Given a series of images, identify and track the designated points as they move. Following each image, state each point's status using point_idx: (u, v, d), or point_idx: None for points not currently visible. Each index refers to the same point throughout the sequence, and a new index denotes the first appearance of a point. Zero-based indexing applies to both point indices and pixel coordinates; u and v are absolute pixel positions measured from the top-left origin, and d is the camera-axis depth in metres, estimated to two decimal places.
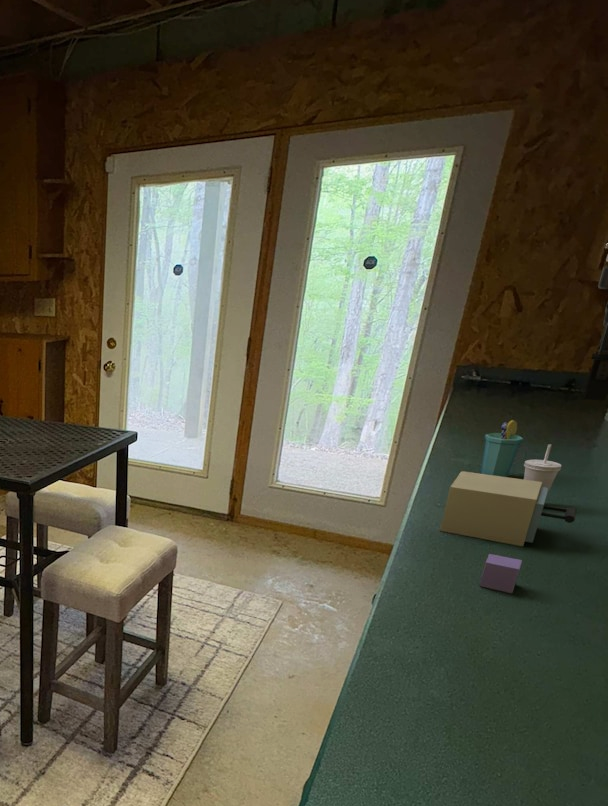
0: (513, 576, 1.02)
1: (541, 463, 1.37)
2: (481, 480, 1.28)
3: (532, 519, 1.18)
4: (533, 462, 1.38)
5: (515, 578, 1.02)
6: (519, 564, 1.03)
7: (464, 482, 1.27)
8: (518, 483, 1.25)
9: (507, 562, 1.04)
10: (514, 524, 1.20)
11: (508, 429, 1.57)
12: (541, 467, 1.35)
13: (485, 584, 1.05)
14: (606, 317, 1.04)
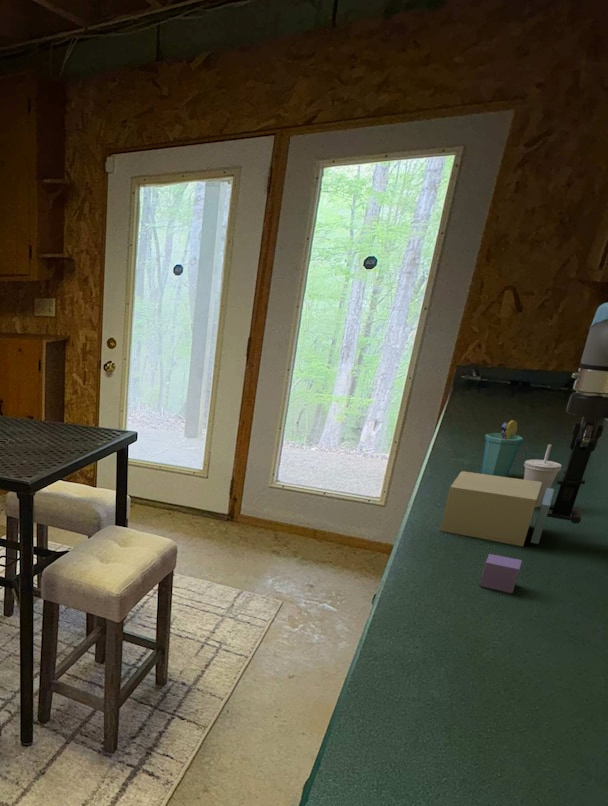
0: (513, 576, 1.02)
1: (541, 463, 1.37)
2: (481, 480, 1.28)
3: (538, 520, 1.18)
4: (533, 462, 1.38)
5: (515, 578, 1.02)
6: (519, 564, 1.03)
7: (464, 482, 1.27)
8: (518, 483, 1.25)
9: (507, 562, 1.04)
10: (514, 524, 1.20)
11: (508, 429, 1.57)
12: (541, 467, 1.35)
13: (485, 584, 1.05)
14: (571, 445, 1.15)
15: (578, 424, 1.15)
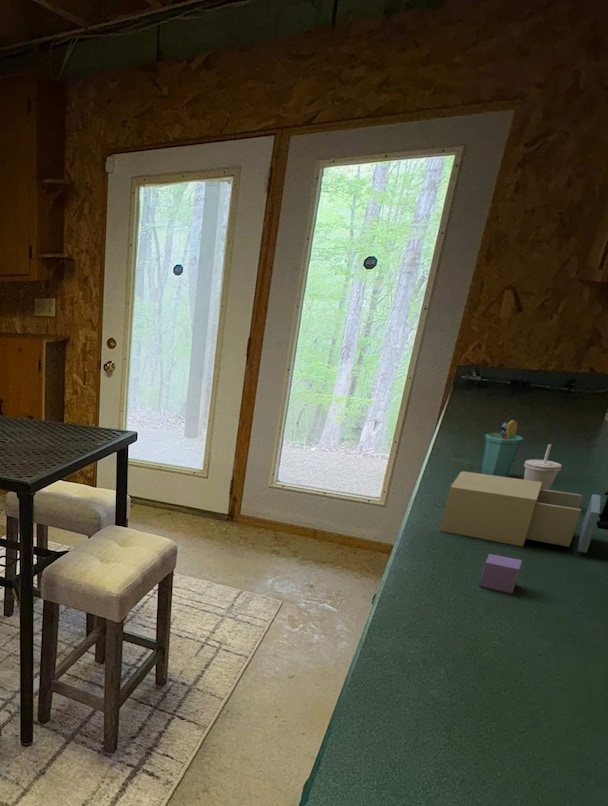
0: (513, 576, 1.02)
1: (541, 463, 1.37)
2: (481, 480, 1.28)
3: (586, 528, 1.13)
4: (533, 462, 1.38)
5: (515, 578, 1.02)
6: (519, 564, 1.03)
7: (464, 482, 1.27)
8: (518, 483, 1.25)
9: (507, 562, 1.04)
10: (514, 524, 1.20)
11: (508, 429, 1.57)
12: (541, 467, 1.35)
13: (485, 584, 1.05)
14: None
15: None
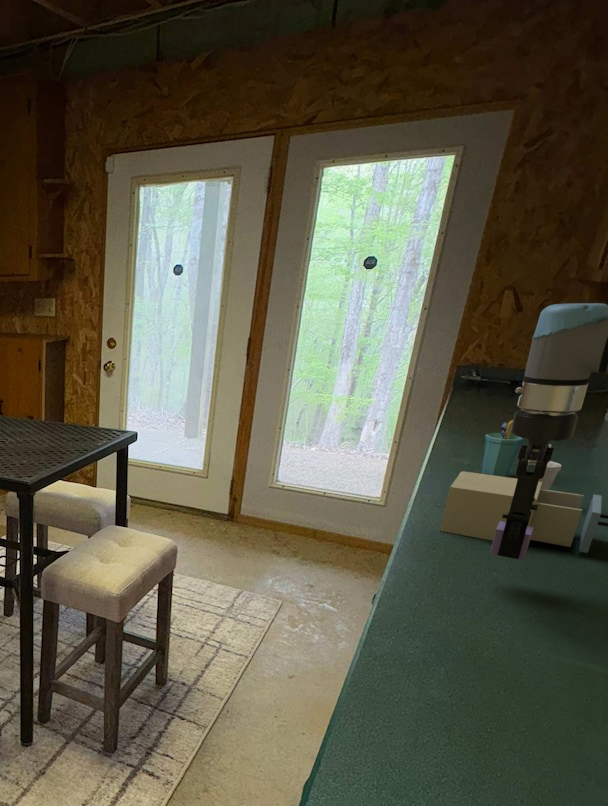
0: (525, 543, 1.00)
1: None
2: (481, 480, 1.28)
3: (588, 528, 1.13)
4: None
5: (527, 544, 1.00)
6: (530, 530, 1.00)
7: (464, 482, 1.27)
8: None
9: None
10: None
11: (508, 429, 1.57)
12: None
13: (496, 552, 1.03)
14: (517, 471, 0.97)
15: (525, 446, 0.99)
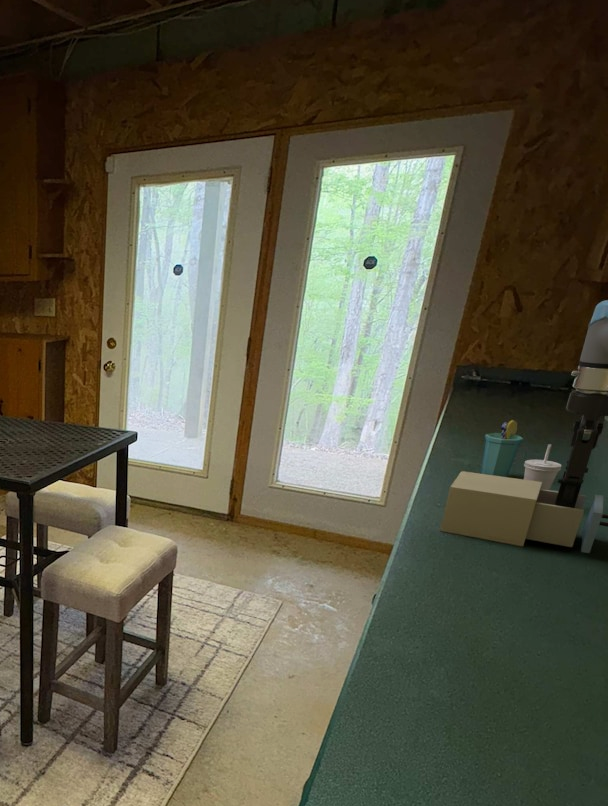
0: None
1: (541, 463, 1.37)
2: (481, 480, 1.28)
3: (589, 529, 1.13)
4: (533, 462, 1.38)
5: None
6: None
7: (464, 482, 1.27)
8: (518, 483, 1.25)
9: None
10: (514, 524, 1.20)
11: (508, 429, 1.57)
12: (541, 467, 1.35)
13: None
14: (572, 441, 1.14)
15: (578, 422, 1.15)
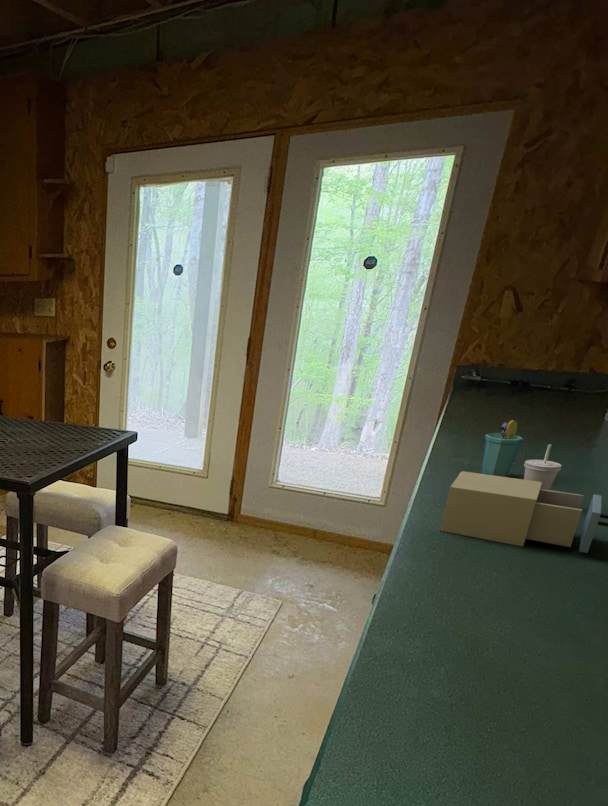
0: None
1: (541, 463, 1.37)
2: (481, 480, 1.28)
3: (588, 528, 1.13)
4: (533, 462, 1.38)
5: None
6: None
7: (464, 482, 1.27)
8: (518, 483, 1.25)
9: None
10: (514, 524, 1.20)
11: (508, 429, 1.57)
12: (541, 467, 1.35)
13: None
14: None
15: None
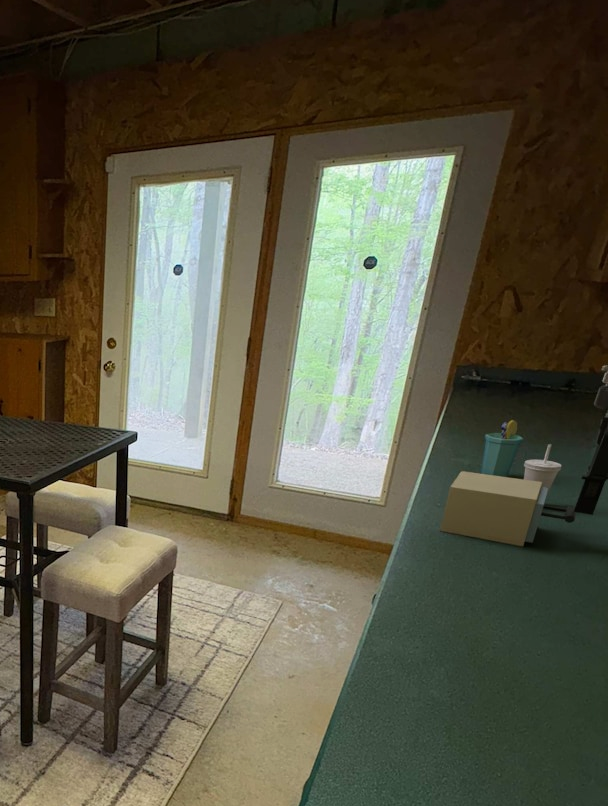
0: None
1: (541, 463, 1.37)
2: (481, 480, 1.28)
3: (532, 519, 1.18)
4: (533, 462, 1.38)
5: None
6: None
7: (464, 482, 1.27)
8: (518, 483, 1.25)
9: None
10: (514, 524, 1.20)
11: (508, 429, 1.57)
12: (541, 467, 1.35)
13: None
14: (598, 439, 1.12)
15: (606, 418, 1.13)
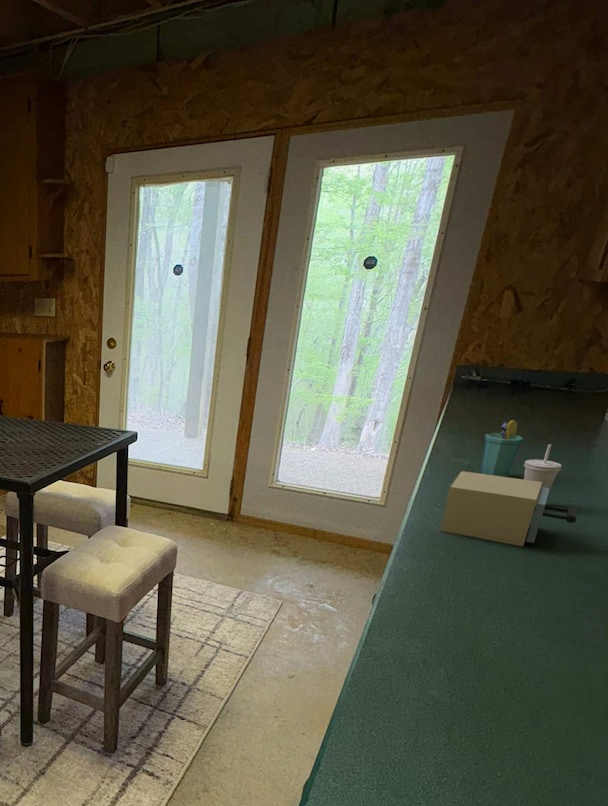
0: None
1: (541, 463, 1.37)
2: (481, 480, 1.28)
3: (533, 519, 1.18)
4: (533, 462, 1.38)
5: None
6: None
7: (464, 482, 1.27)
8: (518, 483, 1.25)
9: None
10: (514, 524, 1.20)
11: (508, 429, 1.57)
12: (541, 467, 1.35)
13: None
14: None
15: None
